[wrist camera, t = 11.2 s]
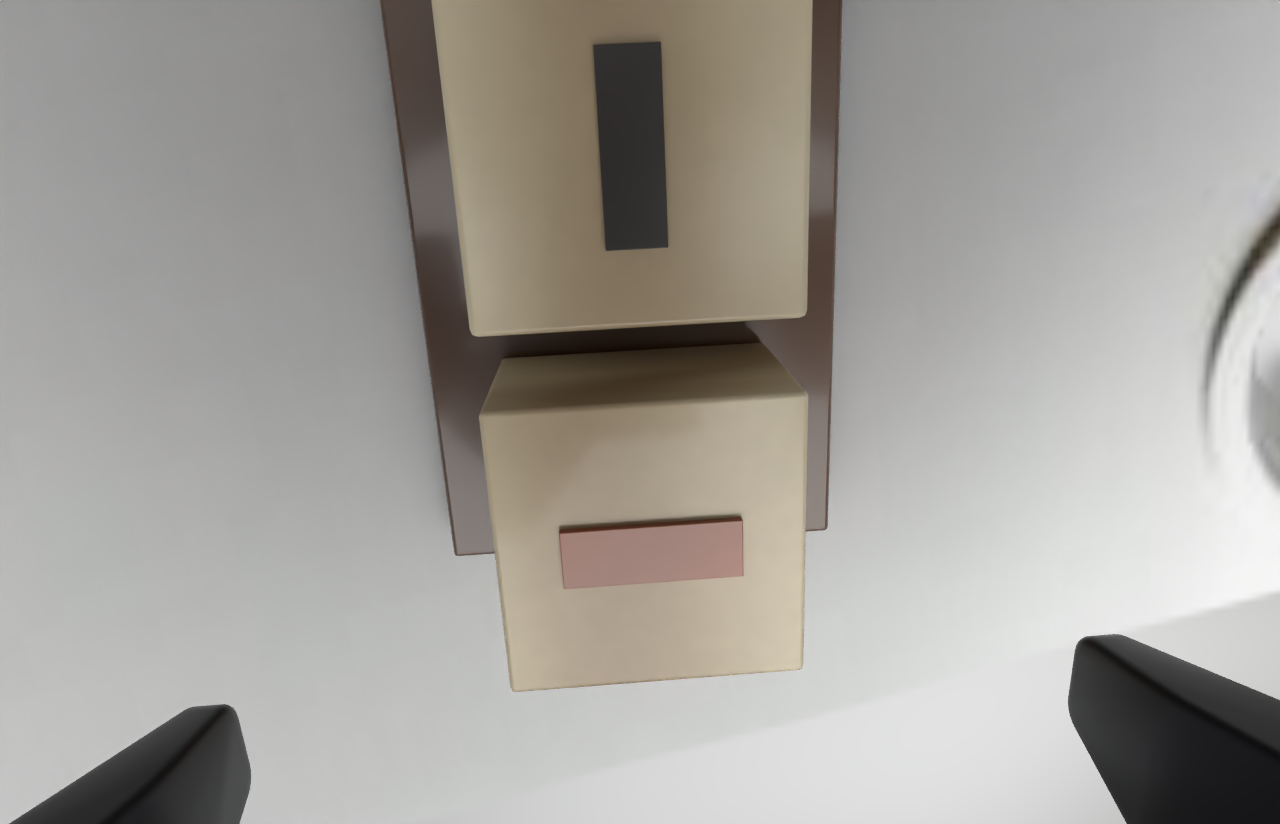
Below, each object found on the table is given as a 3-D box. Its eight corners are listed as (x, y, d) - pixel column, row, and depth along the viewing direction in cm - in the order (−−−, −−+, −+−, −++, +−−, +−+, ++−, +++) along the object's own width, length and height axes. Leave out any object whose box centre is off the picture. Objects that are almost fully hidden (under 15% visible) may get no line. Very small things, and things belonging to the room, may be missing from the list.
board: (836, -460, 11) (964, -776, 7) (814, 508, 16) (886, 624, 12) (333, -450, 11) (194, -773, 7) (462, 533, 16) (420, 659, 12)
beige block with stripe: (764, 341, 14) (812, 394, 11) (764, 573, 15) (806, 676, 12) (501, 357, 14) (476, 415, 11) (525, 591, 15) (509, 699, 12)
